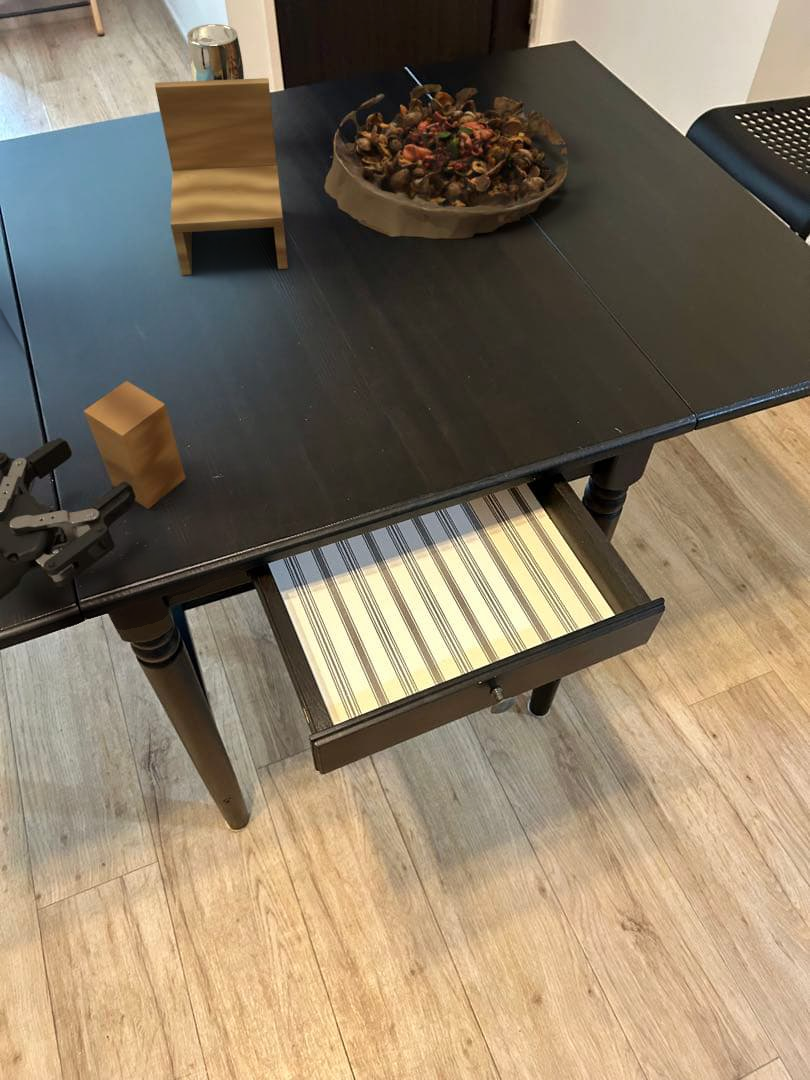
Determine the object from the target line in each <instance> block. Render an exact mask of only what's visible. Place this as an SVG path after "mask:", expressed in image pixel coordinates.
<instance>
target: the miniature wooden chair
mask: <svg viewBox="0 0 810 1080" xmlns="http://www.w3.org/2000/svg"><path fill="white" fill-rule="evenodd" d="M154 90H155V95H156V98H157V103H158V109H159V114H160V119H161V124H162V127H163V131H164V132H163V133H164V137H165V143H166V148H167V152H168V156H169V157H168V158H169V161H170V167H171V172H172V173H171V175H172V176H171V196H170V197H171V198H170V199H171V200H170V229H171V232H172V238H173V242H174V247H175V251H176V257H177V260H178V264H179V265H178V266H179V270H180V273H181V276H191V275H192V274H193V273H192V268H193V267H192V265H193V264H192V263H193V262H192V261H193V232H195V233H196V232H212V231H227V230H244V229H245V230H246V229H260V228H273V233H274V243H275V252H276V263H277V269H278V270H286V269H287V270H288V269H289V265H288V256H287V246H286V245H287V244H286V235H285V225H284V224H285V223H284V216H283V206H282V197H281V188H280V180H279V170H278V169H279V168H278V160H277V150H276V141H275V139H276V138H275V131H274V122H273V121H274V119H273V111H272V102H271V91H270V81H269V78H267V77H261V78H244V79H234V80H209V81H193V80H189V81H188V80H187V81H186V80H185V81H168V82H167V81H163V82H155V84H154Z"/></svg>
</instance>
